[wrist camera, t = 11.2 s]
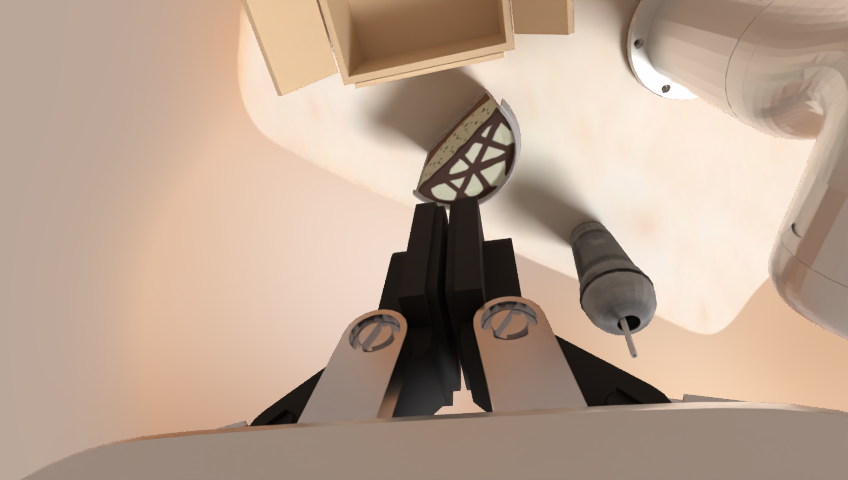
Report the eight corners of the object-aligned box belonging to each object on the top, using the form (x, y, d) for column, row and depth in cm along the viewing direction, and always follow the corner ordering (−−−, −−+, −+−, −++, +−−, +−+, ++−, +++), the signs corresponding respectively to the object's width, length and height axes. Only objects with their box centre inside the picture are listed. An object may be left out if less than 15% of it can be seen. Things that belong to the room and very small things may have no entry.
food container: (457, 193, 52) (456, 237, 44) (419, 160, 50) (410, 199, 42) (536, 118, 47) (553, 152, 38) (497, 78, 45) (504, 104, 36)
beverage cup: (596, 269, 56) (652, 398, 40) (547, 248, 55) (584, 371, 38) (632, 226, 53) (711, 348, 36) (581, 202, 51) (638, 318, 35)
